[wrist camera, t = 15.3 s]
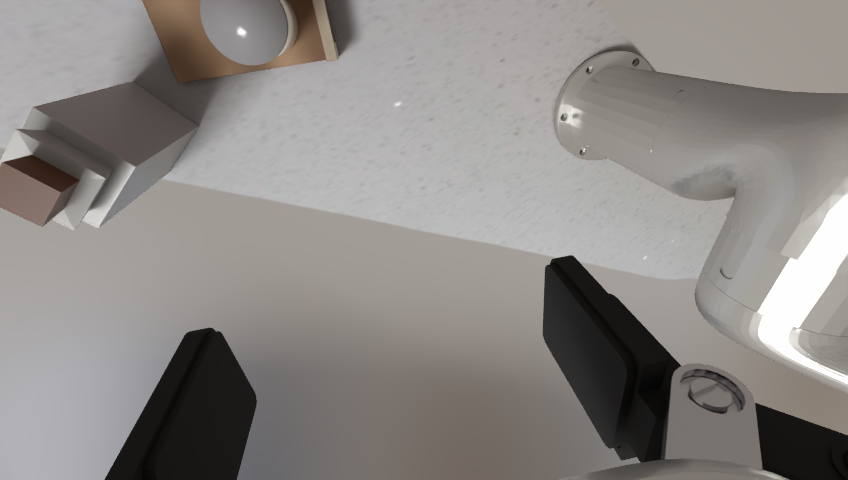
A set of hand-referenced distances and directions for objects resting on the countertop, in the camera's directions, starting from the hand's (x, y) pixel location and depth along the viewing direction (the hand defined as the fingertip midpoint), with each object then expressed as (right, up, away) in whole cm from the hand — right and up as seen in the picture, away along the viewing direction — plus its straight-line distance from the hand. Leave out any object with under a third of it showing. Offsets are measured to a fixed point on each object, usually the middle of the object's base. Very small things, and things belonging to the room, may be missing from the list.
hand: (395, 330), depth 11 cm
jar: (-14, +23, +25) cm, 37 cm away
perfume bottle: (-28, +14, +29) cm, 43 cm away
